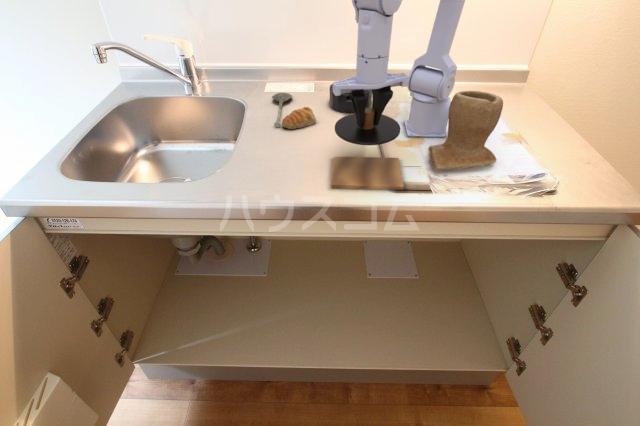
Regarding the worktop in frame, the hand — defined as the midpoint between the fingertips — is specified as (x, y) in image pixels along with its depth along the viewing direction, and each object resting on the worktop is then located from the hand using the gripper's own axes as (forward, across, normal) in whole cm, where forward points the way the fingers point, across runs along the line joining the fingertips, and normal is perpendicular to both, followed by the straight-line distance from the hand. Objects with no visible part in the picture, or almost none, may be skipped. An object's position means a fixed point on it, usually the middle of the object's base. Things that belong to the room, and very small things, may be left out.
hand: (367, 124), depth 66 cm
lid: (+1, 0, 0) cm, 1 cm away
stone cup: (+11, -22, +3) cm, 24 cm away
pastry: (+11, +10, -26) cm, 29 cm away
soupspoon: (+11, +14, -36) cm, 40 cm away
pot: (+10, -8, -33) cm, 36 cm away
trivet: (+10, +1, +3) cm, 11 cm away
